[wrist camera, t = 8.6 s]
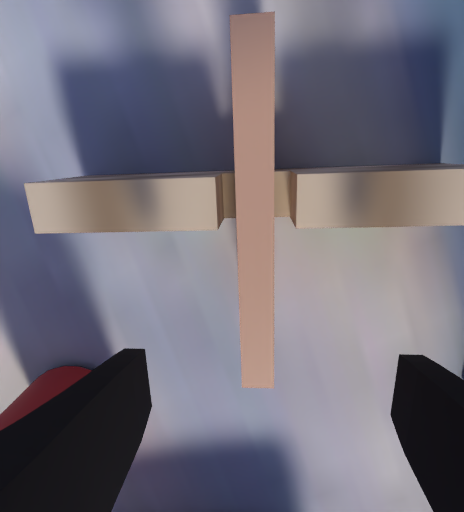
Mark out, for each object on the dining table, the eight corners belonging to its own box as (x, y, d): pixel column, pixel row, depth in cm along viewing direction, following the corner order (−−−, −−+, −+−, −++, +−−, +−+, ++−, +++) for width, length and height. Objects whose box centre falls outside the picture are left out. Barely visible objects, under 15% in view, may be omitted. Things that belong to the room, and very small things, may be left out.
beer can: (33, 352, 21) (-232, 580, 10) (132, 370, 21) (-20, 625, 9) (36, 431, 23) (-182, 700, 12) (127, 448, 23) (-5, 739, 11)
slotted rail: (440, 163, 16) (519, 166, 11) (434, 204, 16) (506, 224, 12) (88, 175, 17) (23, 183, 13) (94, 212, 18) (34, 233, 13)
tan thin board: (267, 74, 15) (274, 11, 9) (268, 305, 19) (273, 388, 12) (241, 75, 15) (229, 14, 9) (247, 305, 19) (242, 387, 12)
